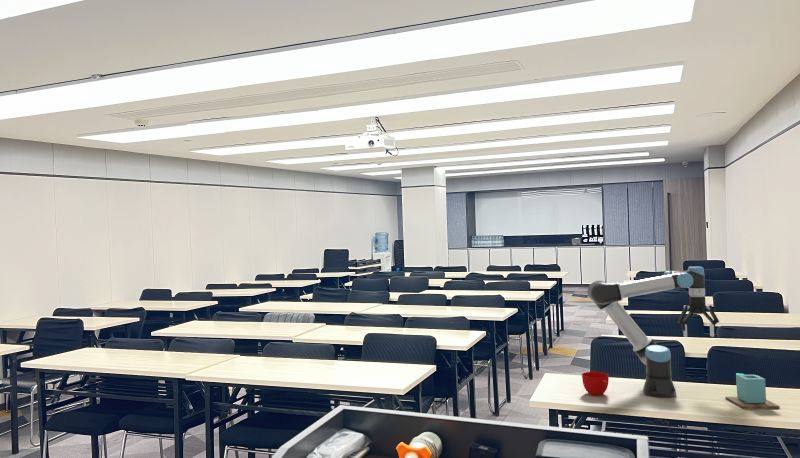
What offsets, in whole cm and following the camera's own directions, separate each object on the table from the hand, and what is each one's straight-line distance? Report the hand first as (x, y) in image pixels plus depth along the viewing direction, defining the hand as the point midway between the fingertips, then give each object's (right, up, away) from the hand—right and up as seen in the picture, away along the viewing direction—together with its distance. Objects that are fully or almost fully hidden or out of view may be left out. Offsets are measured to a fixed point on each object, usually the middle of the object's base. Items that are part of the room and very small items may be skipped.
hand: (698, 336), depth 296 cm
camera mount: (+16, -26, -15) cm, 34 cm away
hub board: (+9, -26, -30) cm, 41 cm away
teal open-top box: (+9, -24, -30) cm, 40 cm away
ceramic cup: (-56, -29, -8) cm, 63 cm away
